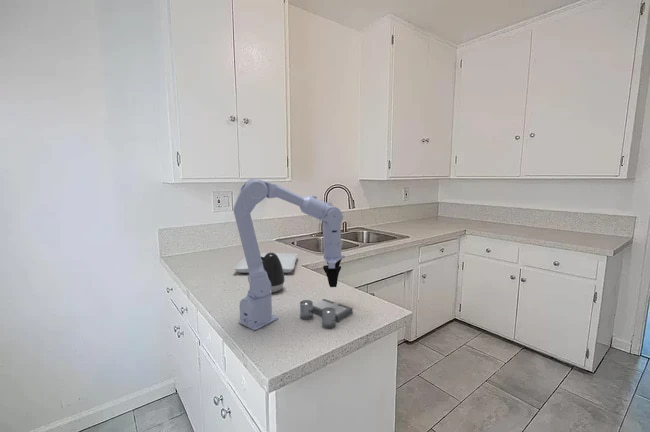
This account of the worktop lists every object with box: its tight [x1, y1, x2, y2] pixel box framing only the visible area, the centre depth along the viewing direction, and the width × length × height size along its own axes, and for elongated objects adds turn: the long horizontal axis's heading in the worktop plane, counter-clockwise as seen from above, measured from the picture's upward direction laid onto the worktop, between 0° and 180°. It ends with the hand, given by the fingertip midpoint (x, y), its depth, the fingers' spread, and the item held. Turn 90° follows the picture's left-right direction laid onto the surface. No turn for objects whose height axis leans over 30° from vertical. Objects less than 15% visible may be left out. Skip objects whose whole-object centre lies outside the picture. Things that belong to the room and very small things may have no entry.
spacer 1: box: [299, 299, 314, 321], centre depth 100 cm, size 4×4×5 cm
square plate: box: [233, 252, 299, 274], centre depth 153 cm, size 27×27×4 cm
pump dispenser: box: [261, 252, 286, 294], centre depth 121 cm, size 10×10×15 cm
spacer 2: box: [321, 307, 336, 330], centre depth 94 cm, size 4×4×5 cm
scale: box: [313, 298, 353, 323], centre depth 103 cm, size 8×12×2 cm, turn 52°
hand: (333, 282), depth 104 cm, fingers open, 7 cm apart
